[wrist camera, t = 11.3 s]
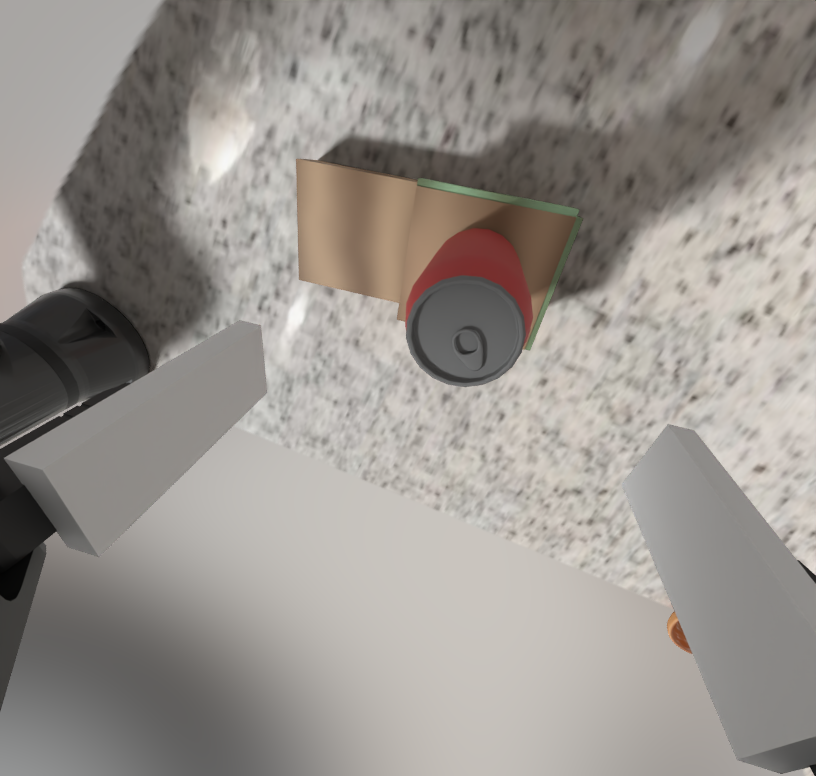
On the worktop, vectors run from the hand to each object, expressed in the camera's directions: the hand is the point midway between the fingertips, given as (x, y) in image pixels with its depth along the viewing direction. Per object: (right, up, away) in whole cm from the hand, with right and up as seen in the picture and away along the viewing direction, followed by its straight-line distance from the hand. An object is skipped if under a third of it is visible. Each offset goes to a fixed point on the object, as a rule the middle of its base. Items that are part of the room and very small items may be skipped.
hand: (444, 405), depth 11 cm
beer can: (+4, +9, +15) cm, 18 cm away
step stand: (0, +15, +22) cm, 26 cm away
